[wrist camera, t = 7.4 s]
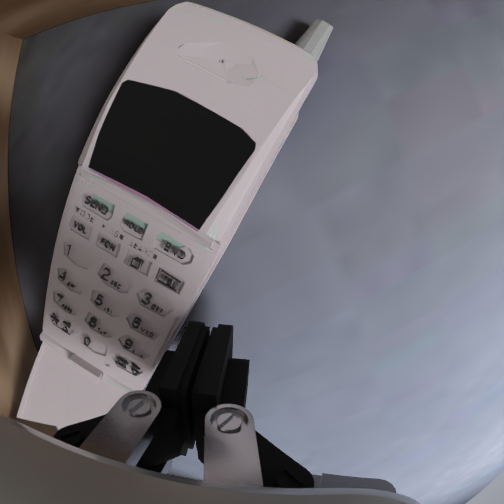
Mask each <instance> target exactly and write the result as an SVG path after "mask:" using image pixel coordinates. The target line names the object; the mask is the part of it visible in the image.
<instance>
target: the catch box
mask: <svg viewBox="0 0 504 504" xmlns="http://www.w3.org/2000/svg"><path fill="white" fill-rule="evenodd" d="M148 1H153V0H0V414H1V415H4V416H6V417H9V418H10V417H17V414H18V410H19V407H20V404H21V400H22V397H23V394H24V391H25V388H26V385H27V382H28V379H29V377H30V374H31V371H32V368H33V366H34V363H35V360H36V358H37V355H38V353H37V350H36V347H35V343H34V340H33V337H32V333H31V330H30V326H29V323H28V319H27V315H26V311H25V307H24V303H23V299H22V294H21V290H20V285H19V280H18V274H17V269H16V263H15V257H14V250H13V243H12V234H11V225H10V214H9V199H8V137H9V122H10V111H11V102H12V94H13V87H14V81H15V75H16V69H17V64H18V59H19V54H20V50H21V45H22V41H23V39H26V38H28V37H30V36H32V35H35V34H37V33H40V32H42V31H45V30H47V29H50V28H52V27H55V26H58V25H60V24H63V23H66V22H69V21H72V20H75V19H78V18H81V17H85V16H88V15H91V14H95V13H98V12H102V11H106V10H110V9H114V8H118V7H123V6H127V5H132V4H137V3H142V2H148Z"/></svg>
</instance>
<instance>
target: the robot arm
mask: <svg viewBox="0 0 504 504" xmlns="http://www.w3.org/2000/svg"><path fill="white" fill-rule="evenodd" d="M232 348H233V325H223V324H219V325H218V328H216V327H213V329H212V332H211V334H210V329H209V327H207V326H205V324H204V322H195V321H190V322H189V324H188V326H187V328H186V330H185V332H184V334H183V336H182V338H181V340H180V342H179V345H178V347H177V349H176V351H169V350H167V351H165V353H164V355H163V356H162V358H161V360H160V362H159V364H158V366H157V368H156V370H155V372H154V374H153V376H152V378H151V380H150V382H149V384H148V386H147V388H146V390H145V391H144V390H135V391H131V392H128V393H126V394H124V395H123V396H122V397H121V398H120V399H119V400H118V401H117V402H116V403H115V405H114V406H113V407H112V408H111V409H110V411H109V412H108V413H107V414H105V415H102V416H99V417H96V418H93V419H89V420H86V421H83V422H79V423H76V424H72V425H69V426H66V427H63V428H61V429H60V430H59V429H58V428H57V426H53V425H48V424H43V423H38V422H34V421H29V420H25V419H21V418H17V417H10V418H9V417H6V416H4V415H1V414H0V504H420V503H419V502H417V501H416V500H414V499H412V498H410V497H407V496H404V495H401V494H398V493H396V490H395V488H394V486H393V485H392V484H391V483H389V482H388V481H386V480H382V479H373V478H359V477H349V476H340V475H332V474H324V473H323V474H322V476H319V475H312V474H311V473H310V472H309V471H308V470H307V469H306V468H304V467H303V466H301V465H300V464H299V463H297V462H296V461H294V460H293V459H292V458H290V457H289V456H288V455H286V454H285V453H284V452H282V451H281V450H280V449H278V448H277V447H276V446H274V445H273V444H272V443H271V442H269V441H268V440H267V439H266V438H264V437H263V436H262V435H261V434H259V433H258V432H257V431H256V430H255V425H254V419H253V416H252V414H251V413H250V412H249V411H248V410H247V409H245V405H246V396H247V386H248V374H249V360H246V359H235V358H232ZM195 440H196V447H197V450H198V459H199V460H200V461H201V462H202V463H203V464H204V481H201V480H195V479H189V478H183V477H178V476H173V475H168V474H167V473H168V471H169V469H170V467H171V465H172V462H173V461H172V459H173V458H175V457H178V456H180V455H184V456H186V454H187V450H188V448H190V449H193V447H194V444H195Z"/></svg>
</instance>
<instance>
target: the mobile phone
mask: <svg viewBox="0 0 504 504" xmlns="http://www.w3.org/2000/svg"><path fill="white" fill-rule="evenodd" d="M332 29H333V27H332V26H331V25H330V24H328V23H326V22H324V21H323V20H319V19H316V20H315V21H314V22H313V23H312V24H311V26H310V27H309V28H308V29H307V30H306V31H305V33H304V34H303V35H302V36H301V37H300V38H299V40H298V41H297V42H296V43H295V44H293V43H291V42H289V41H287V40H285V39H283V38H281V37H279V36H277V35H274V34H272V33H270V32H268V31H266V30H264V29H261V28H259V27H257V26H254V25H252V24H250V23H247V22H245V21H243V20H240V19H238V18H235V17H233V16H230V15H227V14H225V13H222V12H219V11H216V10H214V9H211V8H208V7H205V6H202V5H199V4H196V3H192V2H184V3H180V4H176V5H175V6H173V7H172V8H170V9H169V10H168V11H167V12H166V13H165V14H164V15H163V17H162V18H161V19H160V20H159V22H158V23H157V24H156V25H155V26H154V28H153V29H152V30H151V32H150V33H149V34H148V35H147V37H146V38H145V39H144V41H143V42H142V44H141V45H140V47H139V48H138V50H137V51H136V52H135V54H134V55H133V57H132V58H131V60H130V62H129V63H128V65H127V66H126V68H125V69H124V71H123V72H122V74H121V76H120V77H119V79H118V81H117V82H116V84H115V86H114V87H113V89H112V91H111V93H110V94H109V96H108V98H107V100H106V102H105V104H104V106H103V108H102V110H101V112H100V114H99V116H98V118H97V120H96V122H95V124H94V126H93V128H92V131H91V133H90V135H89V137H88V139H87V142H86V144H85V146H84V149H83V151H82V154H81V156H80V158H79V161H78V164H79V166H78V169H77V172H76V174H75V177H74V180H73V183H72V186H71V189H70V192H69V195H68V198H67V201H66V205H65V208H64V212H63V215H62V219H61V222H60V227H59V231H58V235H57V239H56V244H55V248H54V253H53V258H52V263H51V269H50V274H49V280H48V287H47V294H46V301H45V309H44V318H43V328H42V330H43V331H42V333H41V334H40V340H42V341H43V343H42V345H41V347H40V350H39V352H38V355H37V358H36V360H35V363H34V366H33V368H32V371H31V374H30V377H29V379H28V382H27V385H26V388H25V391H24V394H23V397H22V400H21V404H20V407H19V410H18V414H17V418H21V419H25V420H29V421H34V422H38V423H43V424H48V425H53V426H57V428H58V429H59V430H60V429H61V428H63V427H66V426H69V425H72V424H76V423H79V422H83V421H86V420H89V419H93V418H96V417H99V416H102V415H105V414H107V413H108V412H109V411H110V409H111V408H112V407H113V406H114V405H115V403H116V402H117V401H118V400H119V399H120V398H121V397H122V396H123V395H124V394H126V393H128V392H131V391H135V390H143V389H144V387H145V386H146V384H147V382H148V380H149V379H150V377H151V375H152V373H153V372H154V370H155V368H156V366H157V365H158V364H159V362H160V360H161V358H162V356H163V355H164V353H165V351H167V350H168V349H169V347H170V346H171V344H172V342H173V340H174V339H175V337H176V335H177V334H178V332H179V330H180V328H181V327H182V325H183V323H184V322H185V320H186V318H187V316H188V315H189V313H190V311H191V309H192V308H193V306H194V304H195V302H196V301H197V299H198V297H199V295H200V293H201V292H202V290H203V288H204V286H205V285H206V283H207V281H208V279H209V278H210V276H211V274H212V273H213V271H214V269H215V267H216V266H217V264H218V262H219V260H220V259H221V257H222V255H223V253H224V252H225V250H226V248H227V247H228V245H229V243H230V241H231V239H232V237H233V236H234V234H235V232H236V230H237V228H238V226H239V224H240V222H241V221H242V219H243V217H244V215H245V213H246V211H247V209H248V208H249V206H250V204H251V202H252V200H253V198H254V196H255V195H256V193H257V191H258V189H259V187H260V185H261V184H262V182H263V180H264V178H265V176H266V174H267V173H268V171H269V169H270V167H271V165H272V163H273V162H274V160H275V158H276V156H277V154H278V153H279V151H280V149H281V147H282V146H283V144H284V142H285V140H286V138H287V137H288V135H289V133H290V131H291V130H292V128H293V126H294V124H295V123H296V121H297V118H298V114H299V113H298V111H299V110H300V108H301V106H302V104H303V103H304V101H305V99H306V97H307V96H308V94H309V92H310V90H311V89H312V87H313V85H314V83H315V81H316V80H317V77H318V65H317V61H318V59H319V57H320V55H321V53H322V51H323V49H324V46H325V44H326V42H327V40H328V38H329V36H330V34H331V32H332Z"/></svg>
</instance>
